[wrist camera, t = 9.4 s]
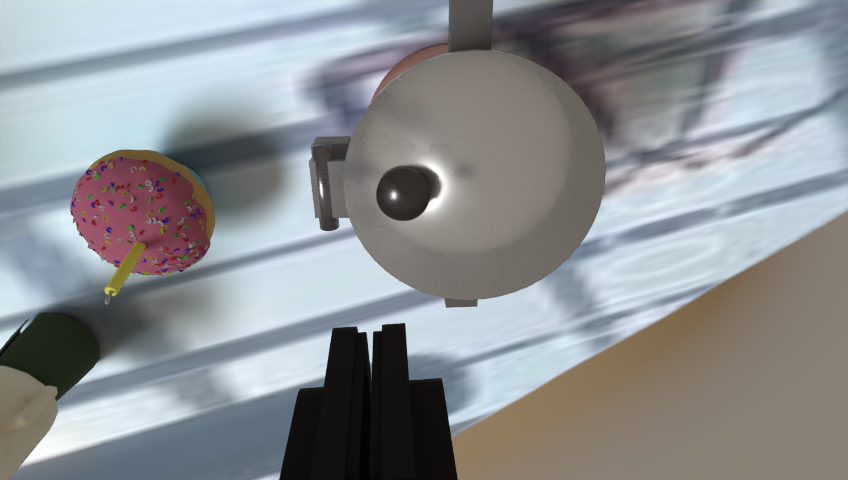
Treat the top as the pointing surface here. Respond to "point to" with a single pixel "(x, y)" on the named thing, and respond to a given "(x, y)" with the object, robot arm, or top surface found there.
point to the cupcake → (143, 214)
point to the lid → (467, 175)
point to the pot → (465, 33)
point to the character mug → (38, 381)
